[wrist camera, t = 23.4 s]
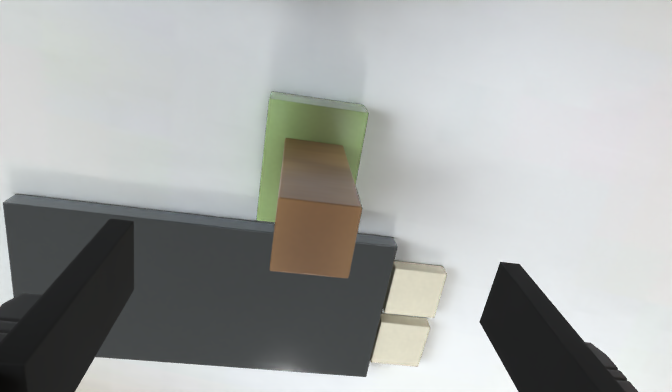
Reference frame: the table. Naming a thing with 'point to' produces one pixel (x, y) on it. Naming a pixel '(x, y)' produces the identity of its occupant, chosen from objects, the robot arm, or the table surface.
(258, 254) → the slate
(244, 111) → the table surface
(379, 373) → the table surface
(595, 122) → the table surface
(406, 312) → the eraser
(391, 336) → the eraser
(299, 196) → the scrub brush
